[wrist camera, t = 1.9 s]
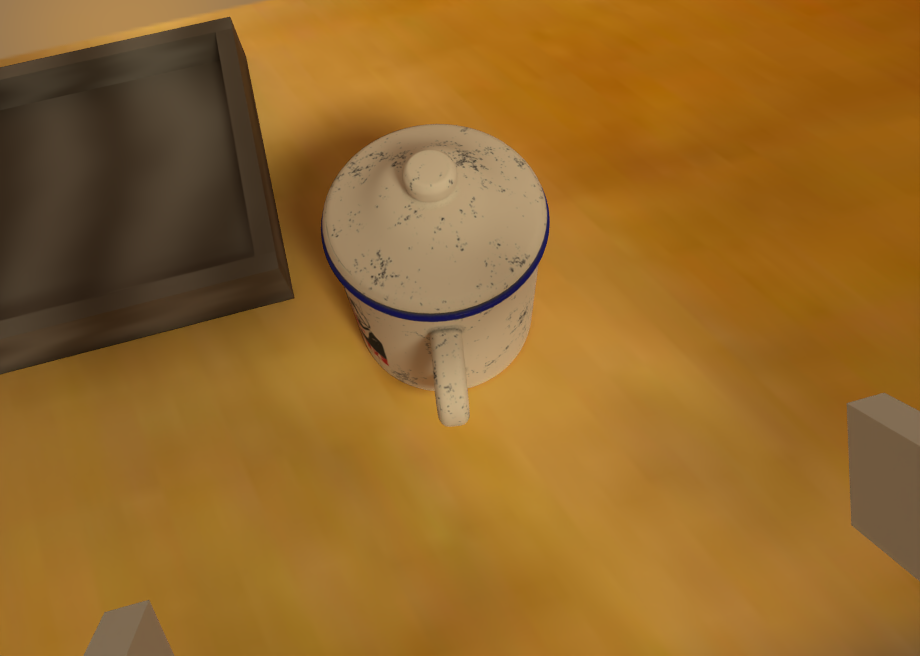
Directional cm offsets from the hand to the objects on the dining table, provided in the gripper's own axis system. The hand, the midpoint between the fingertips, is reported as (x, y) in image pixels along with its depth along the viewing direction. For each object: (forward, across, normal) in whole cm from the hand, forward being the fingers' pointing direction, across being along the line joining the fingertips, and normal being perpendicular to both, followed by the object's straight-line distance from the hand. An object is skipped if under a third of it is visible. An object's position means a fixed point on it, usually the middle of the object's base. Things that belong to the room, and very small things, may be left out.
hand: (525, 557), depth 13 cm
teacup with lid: (+22, +1, -4) cm, 22 cm away
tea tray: (+31, -15, +6) cm, 35 cm away
